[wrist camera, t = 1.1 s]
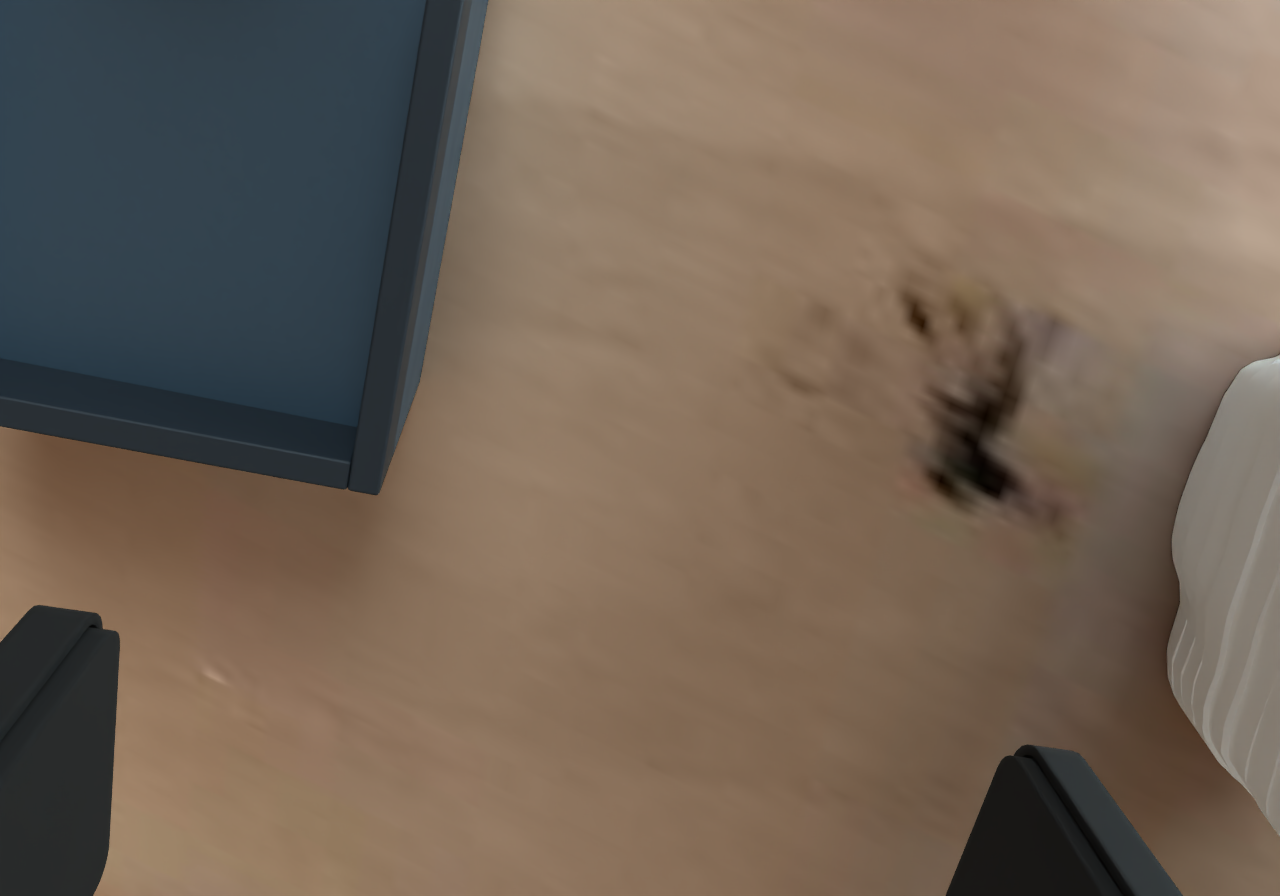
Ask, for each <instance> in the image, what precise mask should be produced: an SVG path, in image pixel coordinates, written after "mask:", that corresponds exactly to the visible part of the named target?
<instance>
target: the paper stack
mask: <svg viewBox="0 0 1280 896" xmlns="http://www.w3.org/2000/svg"><path fill="white" fill-rule="evenodd" d="M1172 557H1173V562H1174V565H1175V569H1176V572H1177V575H1178V579H1179V582H1180V605H1179V608H1178V612H1177V615H1176V618H1175V621H1174V625H1173V628H1172V631H1171V634H1170V638H1169V642H1168V647H1167V669H1168V679H1169V682H1170V685H1171V688H1172V691H1173V694H1174V696H1175V698H1176V699H1177V701H1178V703H1179V705H1180V707H1181V708H1182V710H1183V711H1184V713H1185V714H1186V716H1187V717H1188V718H1189V720H1190V721H1191V723H1192V724H1193V726H1194V727H1195V728H1196V730H1197V732H1198V733H1199V735H1200V736H1201V738H1202V739H1203V740H1204V742H1205V743H1206V744H1207V746H1208V747H1209V749H1210V750H1211V752H1212V753H1213V755H1214V756H1215V758H1216V759H1217V761H1218V762H1219V764H1220V765H1221V766H1223V767H1224V768H1225V769H1226V770H1227V771H1228V772H1229V773H1230V774H1231V776H1232V777H1234V778H1235V779H1236V780H1237V781H1239V782H1240V783H1241V784H1242V785H1243V787H1244V788H1245V789H1246V790H1247V791H1248V792H1249V793H1250V794H1251V795H1252V797H1254V799H1255V800H1256V803H1257V805H1258V807H1259V809H1260V810H1261V812H1262V813H1263V814H1264V816H1265V817H1266V819H1267V820H1268V821H1269V823H1270V824H1271V826H1272V827H1273V828H1274V829H1275V831H1276V833H1277V834H1278V836H1279V837H1280V354H1279V355H1278V356H1277V357H1273V358H1269V359H1264V360H1259V361H1254V362H1252V363H1251V364H1249V365H1247V366H1246V367H1244V368H1242V369H1241V370H1240V371H1239V373H1238V374H1237V376H1236V378H1235V379H1234V381H1233V382H1232V384H1231V385H1230V387H1229V388H1228V390H1227V391H1226V393H1225V394H1224V396H1223V399H1222V401H1221V403H1220V406H1219V408H1218V411H1217V413H1216V416H1215V418H1214V420H1213V423H1212V425H1211V428H1210V430H1209V432H1208V435H1207V438H1206V440H1205V442H1204V443H1203V445H1202V447H1201V450H1200V452H1199V454H1198V456H1197V458H1196V460H1195V462H1194V465H1193V467H1192V470H1191V472H1190V475H1189V478H1188V481H1187V483H1186V486H1185V489H1184V492H1183V495H1182V498H1181V500H1180V503H1179V507H1178V511H1177V515H1176V519H1175V524H1174V529H1173V534H1172Z"/></svg>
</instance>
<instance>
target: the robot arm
mask: <svg viewBox="0 0 1280 896" xmlns="http://www.w3.org/2000/svg"><path fill="white" fill-rule="evenodd" d="M119 651H120V638H119V634H118V633H117V632H116V631H112V630H105V629H103V628H102V620H101V617H100V616H99V615H98V614H97V613H92V612H85V611H78V610H70V609H63V608H56V607H49V606H42V605H37V606H34V607H32V608H31V609H30V610H29V611H28V612H27V613H26V614H25V615H24V616H23V617H22V619H21V620H20V621H19V622H18V623H17V624H16V625H15V626H14V628H13V629H12V630H11V631H10V632H9V633H8V634H7V635H6V637H5V638H4V639H3V640H2V641H1V642H0V896H93V894H94V892H95V891H96V889H97V886H98V884H99V882H100V880H101V877H102V874H103V871H104V868H105V864H106V860H107V856H108V850H109V838H110V819H111V800H112V782H113V763H114V745H115V726H116V707H117V689H118V670H119ZM946 896H1183V895H1182V894H1181V892H1180V891H1179V890H1178V888H1177V887H1176V885H1175V884H1174V883H1173V881H1172V880H1171V878H1170V877H1169V876H1168V874H1167V873H1166V872H1165V870H1164V869H1163V867H1162V866H1161V865H1160V863H1159V862H1158V860H1157V859H1156V858H1155V856H1154V855H1153V854H1152V852H1151V851H1150V849H1149V848H1148V847H1147V845H1146V844H1145V842H1144V841H1143V840H1142V838H1141V837H1140V836H1139V834H1138V833H1137V831H1136V830H1135V829H1134V827H1133V826H1132V824H1131V823H1130V822H1129V820H1128V819H1127V818H1126V816H1125V815H1124V813H1123V812H1122V811H1121V809H1120V808H1119V806H1118V805H1117V804H1116V802H1115V801H1114V800H1113V798H1112V797H1111V795H1110V794H1109V793H1108V791H1107V790H1106V788H1105V787H1104V786H1103V784H1102V783H1101V782H1100V780H1099V779H1098V777H1097V776H1096V775H1095V773H1094V772H1093V770H1092V769H1091V768H1090V766H1089V765H1088V764H1087V762H1086V761H1085V759H1084V758H1083V757H1082V756H1081V755H1080V754H1079V753H1077V752H1074V751H1070V750H1063V749H1056V748H1049V747H1042V746H1034V745H1024V746H1021V747H1020V748H1019V749H1018V750H1017V751H1016V752H1015V754H1014V756H1011V755H1010V756H1006V757H1004V758H1003V759H1002V760H1001V762H1000V763H999V765H998V767H997V770H996V772H995V775H994V777H993V780H992V782H991V785H990V787H989V790H988V792H987V794H986V797H985V799H984V802H983V804H982V807H981V809H980V812H979V814H978V817H977V819H976V822H975V824H974V827H973V829H972V832H971V834H970V837H969V839H968V842H967V844H966V846H965V849H964V851H963V854H962V856H961V859H960V861H959V864H958V866H957V869H956V871H955V874H954V876H953V879H952V881H951V884H950V886H949V889H948V891H947V893H946Z"/></svg>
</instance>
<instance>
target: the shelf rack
mask: <svg viewBox="0 0 1280 896" xmlns="http://www.w3.org/2000/svg"><path fill="white" fill-rule="evenodd" d="M487 5H488V0H0V426H2V427H7V428H12V429H18V430H23V431H29V432H34V433H40V434H45V435H50V436H56V437H61V438H67V439H72V440H78V441H83V442H88V443H94V444H99V445H105V446H110V447H116V448H121V449H126V450H132V451H137V452H143V453H148V454H154V455H159V456H164V457H170V458H175V459H181V460H186V461H192V462H197V463H202V464H208V465H213V466H219V467H224V468H230V469H235V470H240V471H246V472H251V473H257V474H262V475H268V476H273V477H278V478H284V479H289V480H295V481H300V482H306V483H311V484H316V485H322V486H327V487H333V488H338V489H346V488H347V487H348V490H350V491H355V492H361V493H366V494H372V495H378V494H379V492H380V490H381V487H382V484H383V481H384V479H385V476H386V473H387V470H388V467H389V465H390V462H391V459H392V457H393V454H394V451H395V448H396V446H397V443H398V440H399V437H400V434H401V432H402V429H403V426H404V423H405V421H406V418H407V415H408V412H409V410H410V407H411V404H412V401H413V399H414V396H415V393H416V390H417V387H418V385H419V382H420V377H421V372H422V366H423V360H424V355H425V349H426V344H427V338H428V333H429V327H430V322H431V316H432V310H433V305H434V299H435V294H436V288H437V283H438V277H439V271H440V266H441V260H442V255H443V249H444V244H445V238H446V233H447V227H448V221H449V216H450V210H451V205H452V199H453V194H454V188H455V182H456V177H457V171H458V166H459V160H460V155H461V149H462V144H463V138H464V132H465V127H466V121H467V116H468V110H469V105H470V99H471V94H472V88H473V82H474V77H475V71H476V66H477V60H478V55H479V49H480V43H481V38H482V32H483V27H484V21H485V16H486V10H487Z"/></svg>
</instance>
